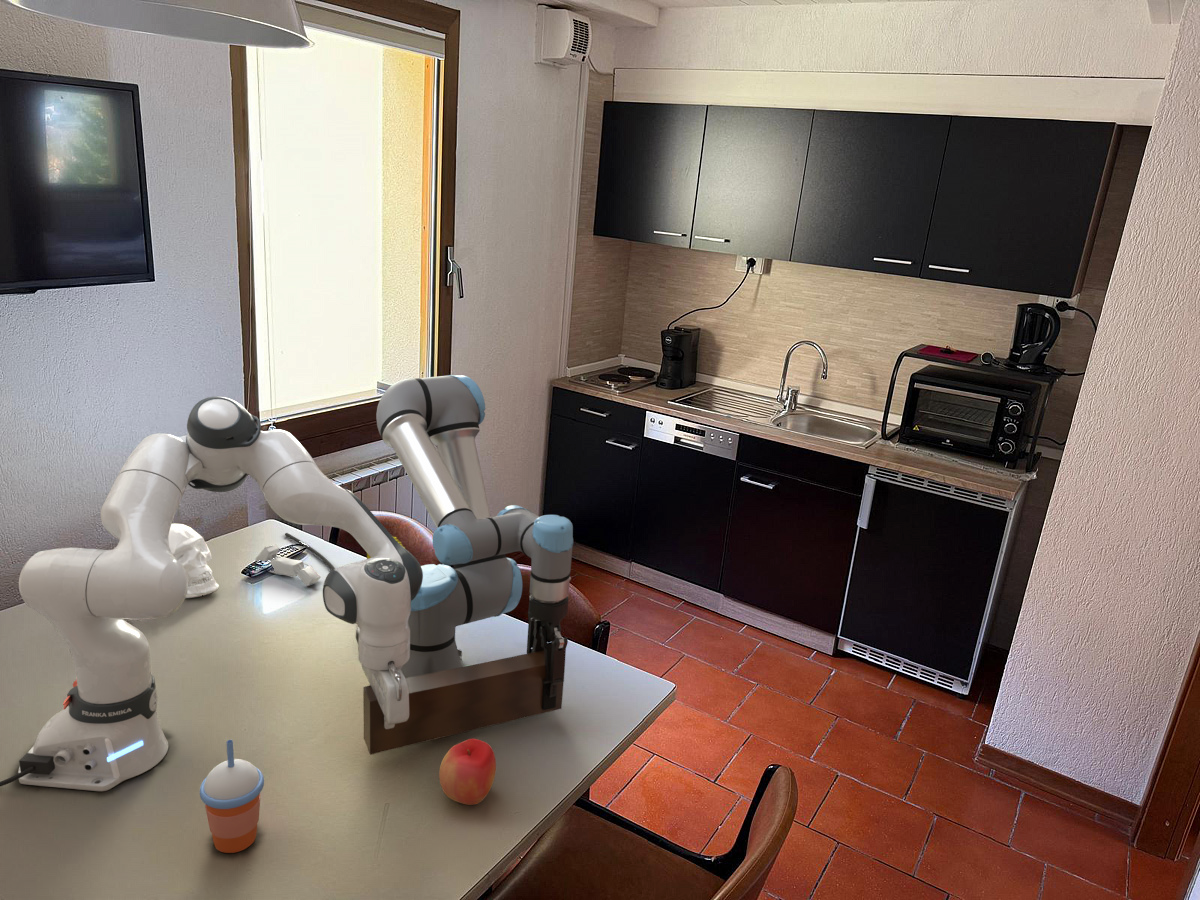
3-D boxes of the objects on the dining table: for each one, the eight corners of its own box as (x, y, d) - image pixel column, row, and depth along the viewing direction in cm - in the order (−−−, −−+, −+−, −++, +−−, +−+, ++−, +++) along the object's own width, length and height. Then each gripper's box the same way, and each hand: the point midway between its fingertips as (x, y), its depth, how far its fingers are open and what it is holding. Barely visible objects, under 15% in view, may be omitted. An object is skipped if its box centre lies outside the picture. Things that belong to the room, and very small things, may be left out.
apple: (467, 772, 153) (469, 724, 150) (507, 796, 148) (509, 747, 145) (427, 800, 146) (428, 750, 143) (467, 826, 140) (469, 775, 137)
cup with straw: (244, 866, 129) (238, 766, 124) (190, 853, 130) (182, 754, 125) (278, 825, 137) (274, 729, 132) (227, 813, 139) (221, 718, 134)
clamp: (253, 565, 223) (254, 542, 221) (265, 560, 226) (266, 537, 224) (309, 593, 215) (310, 569, 213) (320, 588, 218) (321, 564, 216)
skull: (198, 607, 201) (195, 544, 197) (123, 588, 207) (119, 527, 203) (237, 585, 214) (235, 526, 209) (165, 569, 219) (162, 511, 215)
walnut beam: (370, 754, 153) (369, 701, 150) (363, 738, 157) (363, 686, 154) (561, 708, 171) (565, 660, 167) (551, 695, 175) (554, 648, 171)
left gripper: (419, 676, 144) (417, 745, 148) (387, 619, 161) (386, 683, 165) (381, 683, 141) (381, 754, 145) (353, 625, 158) (353, 690, 162)
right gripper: (588, 613, 158) (579, 721, 165) (547, 572, 173) (541, 673, 180) (551, 620, 155) (544, 730, 161) (513, 578, 170) (508, 680, 177)
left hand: (384, 716), depth 155 cm, fingers closed on walnut beam, 5 cm apart
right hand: (542, 699), depth 171 cm, fingers closed on walnut beam, 5 cm apart
